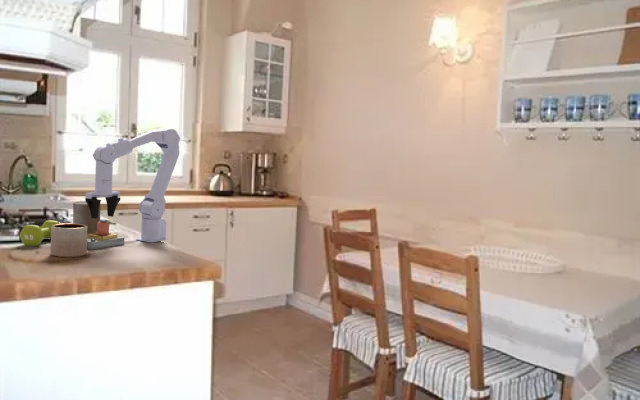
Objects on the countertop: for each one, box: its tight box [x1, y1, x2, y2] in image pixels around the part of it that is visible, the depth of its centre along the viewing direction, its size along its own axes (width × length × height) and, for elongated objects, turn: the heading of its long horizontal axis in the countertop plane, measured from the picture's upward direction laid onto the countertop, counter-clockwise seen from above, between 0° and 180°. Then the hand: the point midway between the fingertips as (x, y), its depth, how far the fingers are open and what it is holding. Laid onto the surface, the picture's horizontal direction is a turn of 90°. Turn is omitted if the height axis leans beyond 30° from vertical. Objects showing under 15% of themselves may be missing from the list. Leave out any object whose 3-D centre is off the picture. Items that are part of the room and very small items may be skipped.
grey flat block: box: [87, 232, 125, 251], centre depth 197 cm, size 18×11×4 cm, turn 156°
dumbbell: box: [19, 219, 61, 247], centre depth 196 cm, size 16×8×7 cm, turn 176°
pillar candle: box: [72, 200, 101, 234], centre depth 210 cm, size 10×10×15 cm
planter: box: [50, 222, 88, 258], centre depth 179 cm, size 11×11×10 cm
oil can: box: [97, 219, 110, 236], centre depth 200 cm, size 4×4×6 cm
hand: (102, 217), depth 200 cm, fingers open, 7 cm apart
